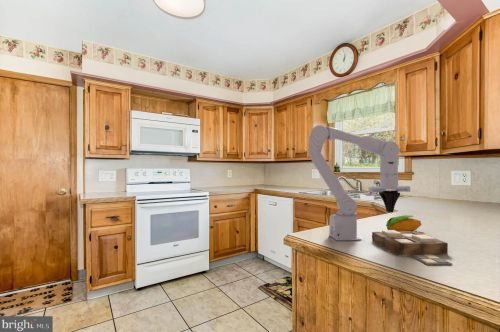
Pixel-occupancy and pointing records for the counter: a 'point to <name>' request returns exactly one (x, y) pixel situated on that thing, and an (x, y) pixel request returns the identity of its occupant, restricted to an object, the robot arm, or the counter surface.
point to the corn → (403, 224)
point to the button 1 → (391, 233)
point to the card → (430, 260)
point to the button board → (410, 245)
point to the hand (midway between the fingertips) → (389, 211)
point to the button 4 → (423, 238)
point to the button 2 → (403, 240)
